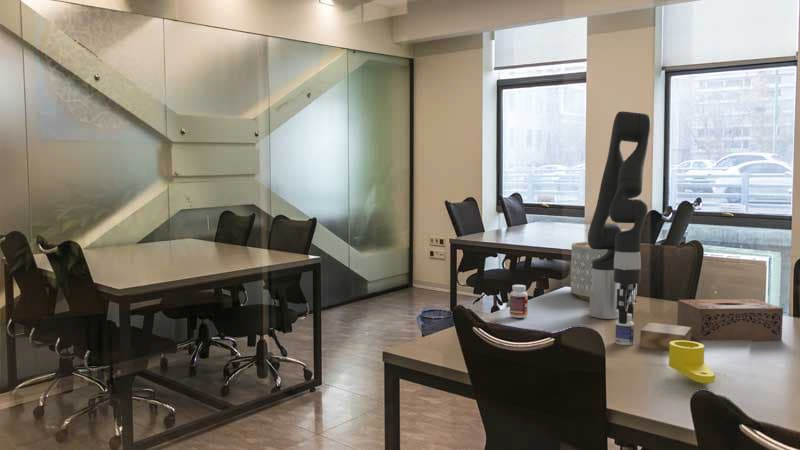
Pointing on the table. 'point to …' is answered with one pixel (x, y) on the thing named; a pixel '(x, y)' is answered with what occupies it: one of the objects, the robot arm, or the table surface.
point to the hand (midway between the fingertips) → (626, 320)
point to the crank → (690, 360)
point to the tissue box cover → (731, 319)
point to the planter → (584, 268)
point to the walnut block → (662, 335)
